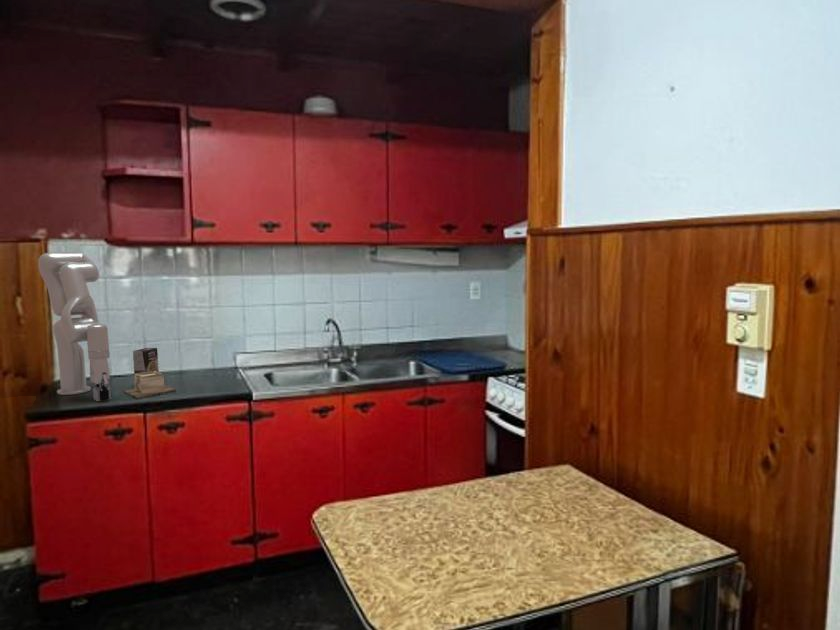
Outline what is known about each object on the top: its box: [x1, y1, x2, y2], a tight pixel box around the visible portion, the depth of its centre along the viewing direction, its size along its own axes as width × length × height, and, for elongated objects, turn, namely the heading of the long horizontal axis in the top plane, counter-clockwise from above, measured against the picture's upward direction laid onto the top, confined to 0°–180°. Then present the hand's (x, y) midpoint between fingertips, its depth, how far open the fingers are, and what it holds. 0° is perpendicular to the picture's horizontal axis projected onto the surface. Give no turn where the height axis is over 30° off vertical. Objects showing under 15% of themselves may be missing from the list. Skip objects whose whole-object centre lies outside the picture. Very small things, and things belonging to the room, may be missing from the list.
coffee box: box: [132, 347, 160, 375], centre depth 270 cm, size 9×6×16 cm
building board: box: [122, 371, 177, 399], centre depth 256 cm, size 16×16×8 cm
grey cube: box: [92, 386, 112, 402], centre depth 245 cm, size 5×5×5 cm
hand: (102, 398), depth 245 cm, fingers closed on grey cube, 5 cm apart
